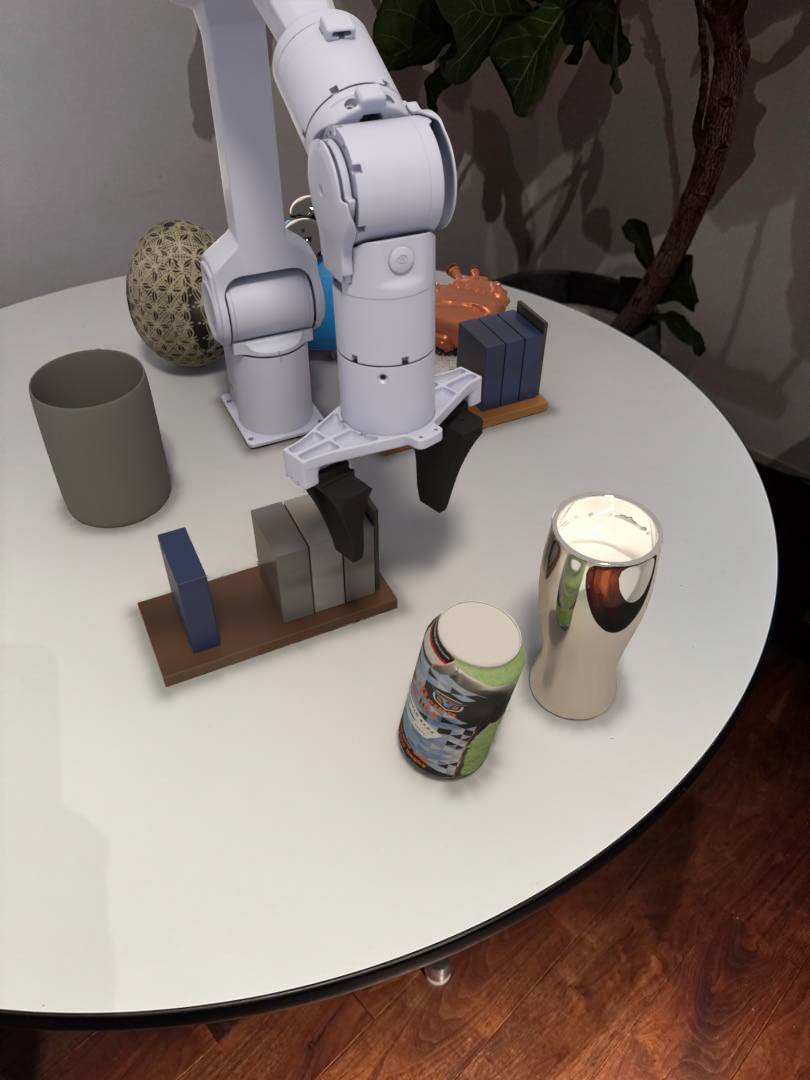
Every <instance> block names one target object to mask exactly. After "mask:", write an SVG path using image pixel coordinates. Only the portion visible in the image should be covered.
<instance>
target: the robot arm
mask: <svg viewBox="0 0 810 1080" xmlns="http://www.w3.org/2000/svg"><path fill="white" fill-rule="evenodd" d="M169 2H170V3H173V4H175V5H179V6H181V7H184V8H187V9H190V10H192V11H193V15H194V17H195V20H196V23H197V26H198V29H199V32H200V35H201V41H202V48H203V55H204V62H205V69H206V76H207V77H206V78H207V84H208V90H209V92H208V93H209V98H210V105H211V112H212V118H213V119H212V120H213V127H214V134H215V143H216V149H217V154H218V156H217V157H218V163H219V171H220V177H221V184H222V193H223V199H224V206H225V213H226V220H227V221H226V222H227V227H228V228H227V230H226V231H225V232H224V233H223V234H222V235H221V236H220V237H219V238H218V240H217V241H216V242H215V243H214V244H212V245H211V246H210V247H209V248H208V249H207V250H206V251H205V252H204V253H203V254H202V256H201V257H202V261H201V263H200V265H201V272H202V297H203V303H204V308H205V312H206V316H207V320H208V324H209V327H210V330H211V332H212V335H213V337H214V339H215V340H216V341H217V342H219V343H220V344H221V345H222V346H223V347H224V354H225V355H224V360H225V368H226V374H227V379H228V381H227V382H228V387H229V392H227V393H224V394H223V393H222V395H221V396H220V398H221V402H222V403H223V405H224V408H225V409H226V411H227V412H228V414H229V416H230V418H231V419H232V421H233V423H234V425H235V426H236V428H237V430H238V432H239V433H240V435H241V436H242V438H243V440H244V441H245V443H246V445H247V447H248V448H250V449H256V448H259V447H263V446H267V445H270V444H271V445H272V444H274V443H278V442H282V441H287V440H290V439H293V438H298V437H301V438H300V439H299V440H297V441H295V442H294V443H292V444H290V445H288V446H286V447H284V448H283V449H282V455H283V462H284V471H285V476H286V477H287V478H288V479H290V480H291V481H292V482H293V483H295V484H297V486H300V487H301V488H302V489H304V490H305V491H306V493H307V494H309V495H310V497H311V498H312V500H313V501H314V503H315V504H316V506H317V508H318V509H319V511H320V513H321V515H322V517H323V519H324V521H325V523H326V525H327V528H328V530H329V533H330V535H331V538H332V541H333V543H334V546H335V550H337V551H338V552H339V553H341V554H342V555H343V556H345V557H346V558H348V559H349V560H350V561H352V562H357V561H358V560H360V559H362V556H363V552H364V527H363V526H364V515H365V510H366V505H367V502H368V498H369V497H370V496H371V493H372V491H373V489H374V488H373V487H372V486H370V485H369V484H367V483H366V482H364V481H363V480H362V479H360V478H358V477H356V473H355V472H356V471H355V468H351V467H350V461H351V460H353V459H355V458H360V457H364V456H368V455H373V454H377V453H381V452H382V451H386V450H390V449H394V448H399V447H403V446H407V445H410V446H412V447H414V448H413V450H414V454H415V455H414V457H415V469H416V470H415V473H416V474H415V475H416V489H417V494H418V498H419V502H421V503H422V504H424V505H425V506H426V507H428V508H430V509H431V510H432V511H433V510H434V512H436V513H438V514H442V513H443V512H445V511H446V510H447V508H448V505H449V502H450V499H451V496H452V493H453V490H454V487H455V484H456V481H457V478H458V476H459V473H460V470H461V468H462V466H463V464H464V462H465V459H466V458H467V457H468V454H469V452H470V451H471V450H472V448H473V446H474V445H475V443H476V442H477V441H478V440H479V438H480V437H481V435H482V434H483V433H484V428H483V419H482V418H481V417H480V416H478V415H476V414H474V413H472V412H471V411H469V410H468V407H471V406H474V405H476V404H478V403H480V402H481V384H482V377H481V376H480V375H477V374H475V373H473V372H471V371H469V370H467V369H465V368H463V367H458V368H456V367H455V368H453V369H451V370H448V371H445V372H440V373H437V374H436V347H435V284H436V282H437V281H436V279H437V278H436V277H437V276H436V274H437V273H436V271H437V270H436V267H437V266H436V264H437V263H436V262H437V261H436V260H437V259H436V257H437V254H436V253H437V251H436V250H437V247H436V246H437V235H435V233H433V232H434V231H435V230H443V229H445V228H447V227H448V225H449V224H450V223H451V221H452V219H453V217H454V214H455V209H456V205H457V197H458V173H457V165H456V159H455V158H456V157H455V154H454V150H453V146H452V142H451V140H450V137H449V135H448V132H447V130H446V128H445V125H444V123H443V120H442V118H441V117H440V115H438V114H437V112H435V111H433V109H428V108H427V109H425V108H424V109H422V108H421V107H420V106H419V103H418V101H407V100H403V98H402V96H401V94H400V92H399V90H398V88H397V86H396V85H395V82H394V80H393V79H392V77H391V75H390V72H389V71H388V68H387V67H386V65H385V63H384V61H383V59H382V57H381V55H380V53H379V51H378V49H377V47H376V45H375V43H374V41H373V39H372V38H371V36H370V33H369V31H368V30H367V28H366V26H365V25H364V23H363V22H362V21H361V20H360V19H359V18H358V17H357V16H355V15H354V14H353V13H350V12H349V11H346V10H342V9H337V8H336V7H335V3H334V1H333V0H169ZM267 27H268V29H269V31H270V33H271V34H272V36H273V38H274V39H275V41H276V42H277V43H276V45H275V48H274V51H273V55H272V65H271V66H272V76H273V80H274V82H275V85H276V87H277V89H278V92H279V94H280V96H281V98H282V100H283V102H284V105H285V107H286V109H287V112H288V114H289V116H290V118H291V121H292V123H293V124H294V127H295V130H296V132H297V134H298V136H299V139H300V141H301V143H302V145H303V147H304V150H305V153H306V154H307V181H308V189H309V195H311V201H312V205H313V209H314V213H315V217H316V220H317V224H318V229H319V235H320V244H321V254H322V256H323V262H324V266H325V267H326V268H327V269H328V270H329V271H330V273H331V274H332V288H333V302H334V316H335V329H336V343H337V350H336V356H337V357H336V358H337V367H338V370H337V371H338V382H339V383H338V384H339V396H340V397H339V398H340V404H339V405H338V406H337V407H336V408H335V409H334V410H332V411H331V412H330V413H329V414H328V415H327V416H326V417H324V416H323V415H322V412H321V411H320V410H319V409H318V408H317V406H316V405H315V403H314V402H313V398H312V397H313V396H312V385H311V371H310V358H309V349H308V343H307V342H308V341H311V340H313V330H312V329H315V328H318V327H319V326H320V325H321V322H322V320H323V318H324V315H325V299H324V292H323V287H322V283H321V280H320V277H319V272H318V264H317V258H316V255H315V254H314V252H313V250H312V249H311V247H310V245H309V244H308V243H307V241H305V240H304V239H303V238H302V237H300V236H299V235H297V234H295V233H293V232H292V231H290V230H288V229H286V228H285V211H284V202H283V191H282V181H281V170H280V160H279V151H278V143H277V142H278V139H277V129H276V119H275V110H274V99H273V89H272V87H273V86H272V79H271V67H270V56H269V47H268V39H267V37H268V36H267Z"/></svg>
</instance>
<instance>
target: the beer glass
mask: <svg viewBox="0 0 810 1080" xmlns="http://www.w3.org/2000/svg"><path fill="white" fill-rule="evenodd" d="M663 542H664V530H663V526H662V524H661V522H660V520H659V519H658V518H657V516H656V515H655V514H654V513H653V512H652V511H651V510H650V509H649V508H648V507H646V506H645V505H643V504H642V503H640V502H639V501H637V500H635V499H632V498H630V497H627V496H624V495H622V494H616V493H612V492H611V493H610V492H603V491H602V492H601V491H595V492H594V491H593V492H584V493H580V494H577V495H574V496H573V495H572V496H571V497H569V498H567V499H565V500H564V501H562V502H561V503H559V505H558V506H556V508H555V510H554V512H553V513H552V516H551V521H550V527H549V530H548V534H547V537H546V540H545V544H544V547H543V552H542V556H541V562H540V568H539V575H538V576H539V577H538V587H537V588H538V589H537V590H538V591H537V592H538V596H537V597H538V598H537V599H538V601H537V602H538V613H539V614H538V615H539V624H540V638H541V640H540V647H539V651H538V653H537V655H536V658H535V660H534V662H533V663H532V666H531V669H530V673H529V687H530V690H531V693H532V695H533V697H534V699H535V700H536V701H537V702H538V703H539V705H540V706H541V707H543V708H544V709H546V710H547V712H549V713H551V714H552V715H556V716H558V717H560V718H564V719H568V720H574V721H575V720H576V721H583V720H590V719H594V718H596V717H599V716H600V715H602V714H604V713H606V712H607V711H608V710H609V709H610V707H611V706H612V705H613V704H614V702H615V699H616V696H617V691H618V677H617V675H618V666H619V663H620V660H621V657H622V656H623V653H624V652H625V650H626V648H627V646H628V645H629V644H630V641H631V640H632V638H633V637H634V635H635V633H636V631H637V630H638V628H639V626H640V624H641V622H642V620H643V618H644V615H645V613H646V611H647V609H648V606H649V603H650V600H651V597H652V595H653V591H654V587H655V583H656V579H657V574H658V568H659V562H660V555H661V549H662V545H663Z"/></svg>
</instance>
